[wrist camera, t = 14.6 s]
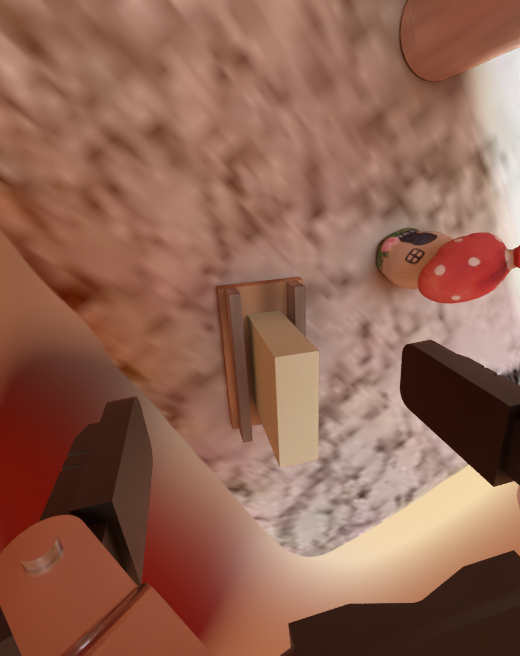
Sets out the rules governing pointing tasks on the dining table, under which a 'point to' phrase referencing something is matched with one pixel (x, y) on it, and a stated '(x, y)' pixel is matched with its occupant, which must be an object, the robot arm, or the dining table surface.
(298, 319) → the door track
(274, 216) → the dining table surface
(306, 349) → the door panel
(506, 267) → the decorative ornament
